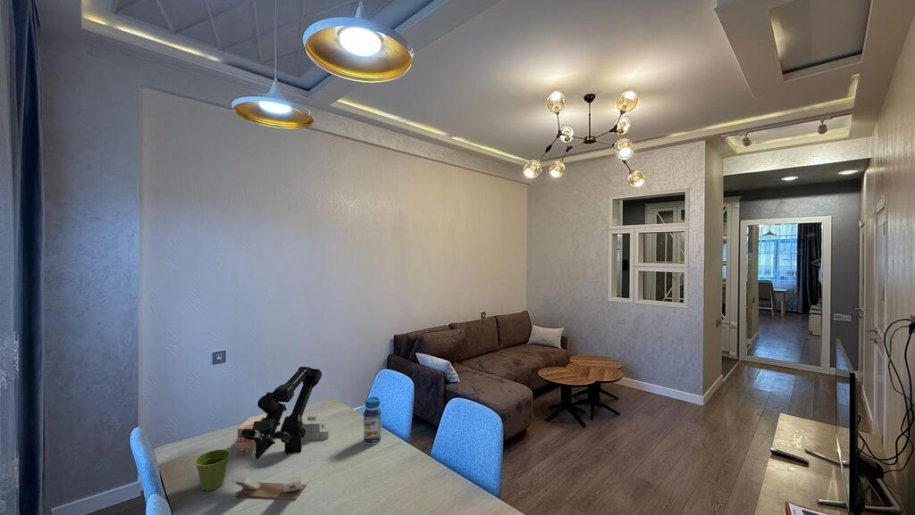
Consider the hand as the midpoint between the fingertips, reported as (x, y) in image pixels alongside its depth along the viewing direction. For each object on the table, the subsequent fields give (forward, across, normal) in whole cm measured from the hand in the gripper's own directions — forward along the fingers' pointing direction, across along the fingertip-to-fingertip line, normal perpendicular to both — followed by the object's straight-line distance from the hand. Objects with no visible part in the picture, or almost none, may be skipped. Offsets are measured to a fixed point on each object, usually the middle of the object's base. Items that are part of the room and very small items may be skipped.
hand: (256, 459), depth 146 cm
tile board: (+9, +8, +5) cm, 13 cm away
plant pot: (+9, -16, +6) cm, 20 cm away
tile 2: (+8, 0, +4) cm, 9 cm away
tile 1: (+8, +16, +4) cm, 19 cm away
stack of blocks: (-13, -21, +29) cm, 38 cm away
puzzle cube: (-21, +4, +38) cm, 43 cm away
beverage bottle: (-19, +33, +35) cm, 52 cm away
